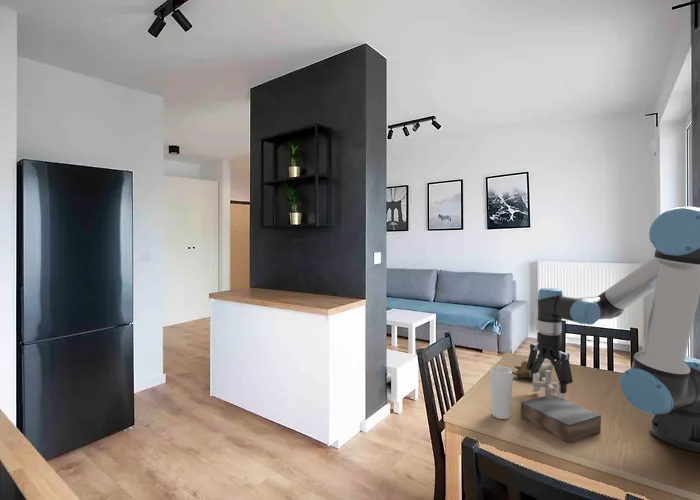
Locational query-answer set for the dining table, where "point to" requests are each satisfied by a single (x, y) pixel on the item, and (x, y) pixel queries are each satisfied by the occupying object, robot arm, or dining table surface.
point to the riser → (561, 417)
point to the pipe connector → (546, 383)
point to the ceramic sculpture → (525, 372)
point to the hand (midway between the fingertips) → (548, 396)
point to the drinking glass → (501, 391)
